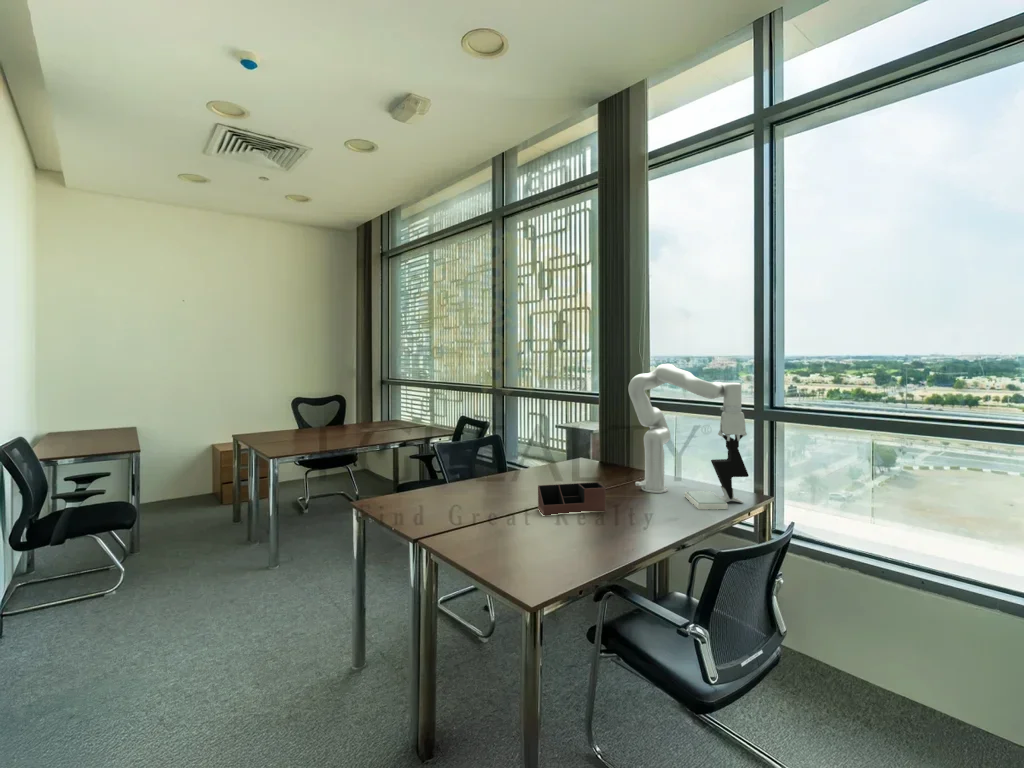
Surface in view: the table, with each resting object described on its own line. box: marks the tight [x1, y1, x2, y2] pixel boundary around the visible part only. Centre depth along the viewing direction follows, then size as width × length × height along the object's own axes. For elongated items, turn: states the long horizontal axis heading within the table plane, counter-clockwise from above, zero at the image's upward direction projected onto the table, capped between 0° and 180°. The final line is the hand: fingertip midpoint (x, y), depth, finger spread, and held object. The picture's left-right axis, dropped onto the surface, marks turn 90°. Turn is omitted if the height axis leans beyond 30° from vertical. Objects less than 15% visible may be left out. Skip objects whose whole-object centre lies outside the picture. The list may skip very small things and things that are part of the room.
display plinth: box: [684, 490, 729, 511], centre depth 226 cm, size 13×19×3 cm
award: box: [710, 436, 749, 504], centre depth 226 cm, size 15×5×30 cm, turn 86°
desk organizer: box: [537, 481, 607, 515], centre depth 217 cm, size 10×29×11 cm, turn 100°
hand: (732, 448), depth 225 cm, fingers closed on award, 2 cm apart
